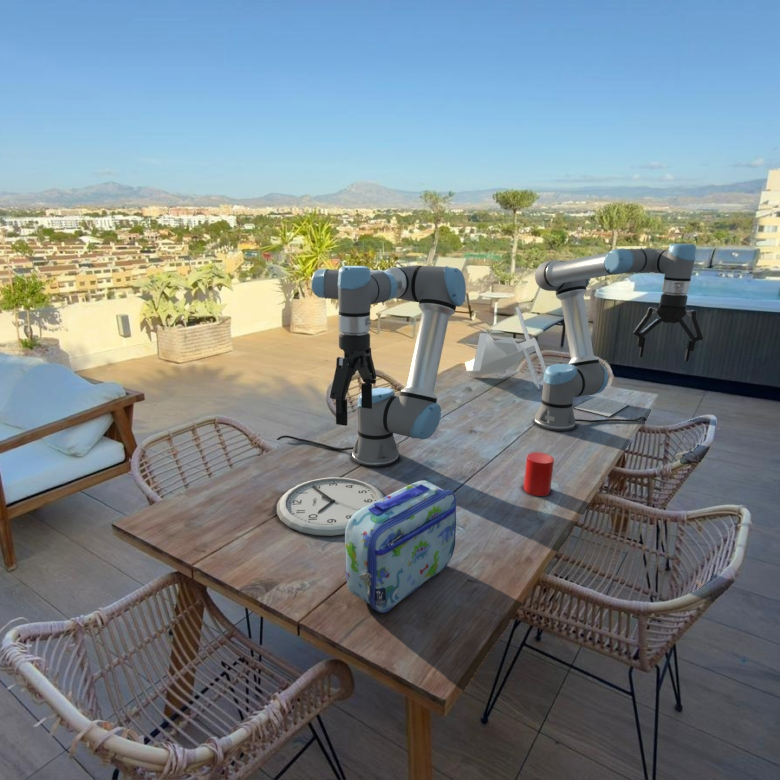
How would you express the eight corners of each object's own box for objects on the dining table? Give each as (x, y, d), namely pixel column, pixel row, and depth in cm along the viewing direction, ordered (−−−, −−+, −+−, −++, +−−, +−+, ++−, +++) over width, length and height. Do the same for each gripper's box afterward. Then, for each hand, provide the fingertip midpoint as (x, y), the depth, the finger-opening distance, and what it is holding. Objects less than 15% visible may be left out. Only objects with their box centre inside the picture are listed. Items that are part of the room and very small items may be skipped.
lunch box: (374, 626, 100) (375, 530, 93) (338, 598, 107) (337, 508, 101) (459, 568, 117) (465, 484, 111) (424, 547, 124) (427, 467, 118)
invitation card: (608, 416, 214) (573, 407, 224) (608, 416, 214) (573, 408, 224) (628, 404, 229) (594, 396, 238) (628, 405, 229) (594, 397, 238)
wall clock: (392, 527, 129) (268, 531, 127) (391, 533, 130) (269, 537, 127) (383, 473, 158) (282, 475, 155) (383, 478, 158) (282, 480, 156)
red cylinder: (522, 482, 157) (525, 451, 154) (548, 485, 156) (551, 453, 153) (524, 494, 150) (528, 462, 147) (551, 497, 149) (555, 464, 146)
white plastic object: (486, 418, 267) (465, 395, 242) (467, 346, 289) (447, 318, 264) (556, 394, 255) (543, 367, 230) (531, 321, 277) (516, 289, 252)
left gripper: (343, 343, 113) (344, 435, 119) (389, 325, 135) (388, 403, 141) (313, 340, 116) (315, 429, 122) (363, 323, 137) (363, 399, 144)
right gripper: (633, 292, 168) (623, 357, 174) (722, 297, 160) (708, 364, 166) (631, 290, 174) (621, 352, 181) (716, 294, 166) (703, 359, 173)
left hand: (354, 415), depth 131 cm, fingers open, 13 cm apart
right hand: (663, 358), depth 173 cm, fingers open, 13 cm apart
